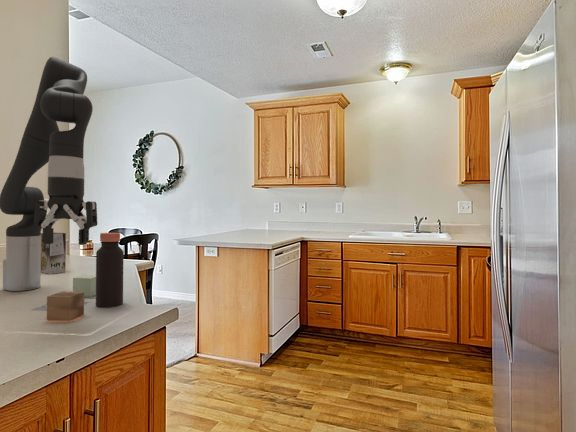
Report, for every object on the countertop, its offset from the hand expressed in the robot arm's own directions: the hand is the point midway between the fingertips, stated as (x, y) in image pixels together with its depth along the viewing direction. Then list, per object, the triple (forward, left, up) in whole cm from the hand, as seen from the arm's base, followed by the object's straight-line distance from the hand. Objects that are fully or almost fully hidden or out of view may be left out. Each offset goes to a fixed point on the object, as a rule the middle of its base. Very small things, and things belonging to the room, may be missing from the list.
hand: (65, 244), depth 89 cm
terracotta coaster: (0, 0, -18) cm, 18 cm away
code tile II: (-9, +23, -18) cm, 30 cm away
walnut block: (0, 0, -18) cm, 18 cm away
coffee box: (-47, +60, -18) cm, 78 cm away
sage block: (-9, +23, -18) cm, 30 cm away
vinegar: (+4, +13, -18) cm, 23 cm away
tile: (-8, +10, -18) cm, 22 cm away
